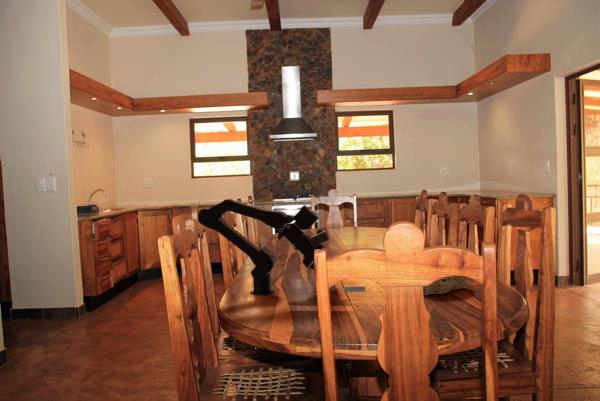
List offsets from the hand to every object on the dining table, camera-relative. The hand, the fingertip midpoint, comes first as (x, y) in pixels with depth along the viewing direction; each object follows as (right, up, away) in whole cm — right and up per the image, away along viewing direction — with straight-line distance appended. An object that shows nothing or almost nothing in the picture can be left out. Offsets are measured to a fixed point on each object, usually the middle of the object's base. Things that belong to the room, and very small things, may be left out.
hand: (331, 271), depth 159 cm
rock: (+36, -7, 0) cm, 37 cm away
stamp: (-1, -7, +1) cm, 7 cm away
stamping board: (+3, -7, 0) cm, 8 cm away
